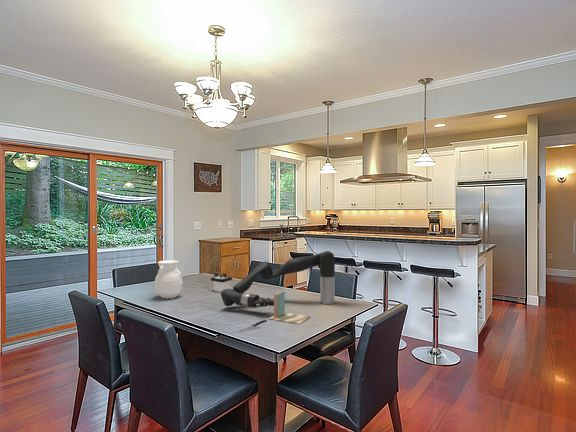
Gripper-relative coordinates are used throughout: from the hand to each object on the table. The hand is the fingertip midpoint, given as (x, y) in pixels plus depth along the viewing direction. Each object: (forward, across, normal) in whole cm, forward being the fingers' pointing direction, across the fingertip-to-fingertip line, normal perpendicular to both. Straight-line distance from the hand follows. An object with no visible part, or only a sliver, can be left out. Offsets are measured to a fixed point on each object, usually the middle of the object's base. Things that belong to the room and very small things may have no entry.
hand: (275, 303), depth 202 cm
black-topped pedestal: (-68, +37, +8) cm, 78 cm away
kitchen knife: (0, -24, +8) cm, 25 cm away
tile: (+2, 0, +6) cm, 7 cm away
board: (+9, 0, +7) cm, 11 cm away
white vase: (-88, +5, +7) cm, 89 cm away
